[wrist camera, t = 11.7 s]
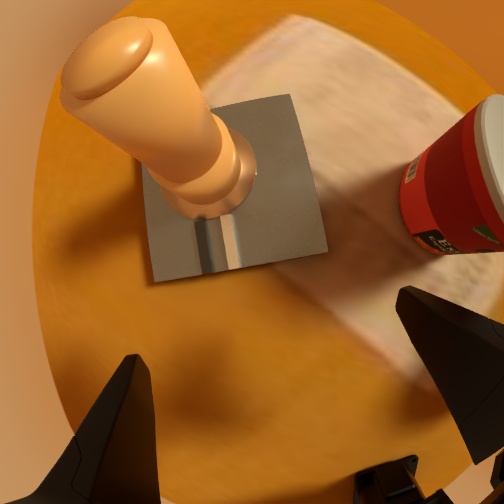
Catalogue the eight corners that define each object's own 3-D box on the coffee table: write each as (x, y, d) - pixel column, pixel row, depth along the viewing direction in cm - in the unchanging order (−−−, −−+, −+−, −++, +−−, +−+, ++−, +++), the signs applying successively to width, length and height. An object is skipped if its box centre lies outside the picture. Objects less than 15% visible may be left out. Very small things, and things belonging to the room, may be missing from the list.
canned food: (403, 261, 18) (505, 258, 7) (385, 157, 18) (456, 78, 7) (474, 250, 17) (570, 241, 6) (457, 158, 18) (535, 106, 7)
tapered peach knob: (234, 209, 18) (138, 107, 5) (164, 201, 18) (23, 128, 6) (246, 139, 18) (195, -11, 5) (179, 136, 18) (80, 21, 6)
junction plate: (324, 252, 19) (329, 251, 17) (163, 281, 20) (151, 282, 18) (289, 103, 19) (289, 90, 17) (148, 138, 21) (138, 129, 19)
